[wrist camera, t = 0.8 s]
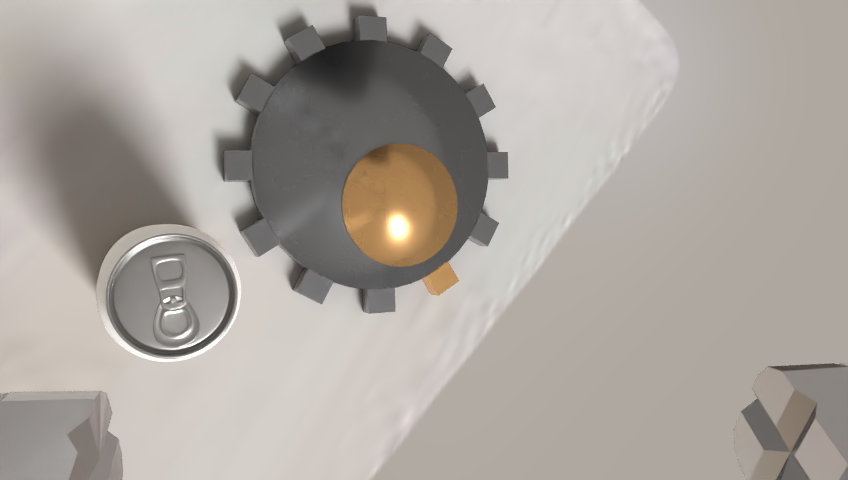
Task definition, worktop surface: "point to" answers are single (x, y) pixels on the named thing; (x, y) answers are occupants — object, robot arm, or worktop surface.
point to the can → (168, 292)
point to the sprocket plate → (367, 164)
